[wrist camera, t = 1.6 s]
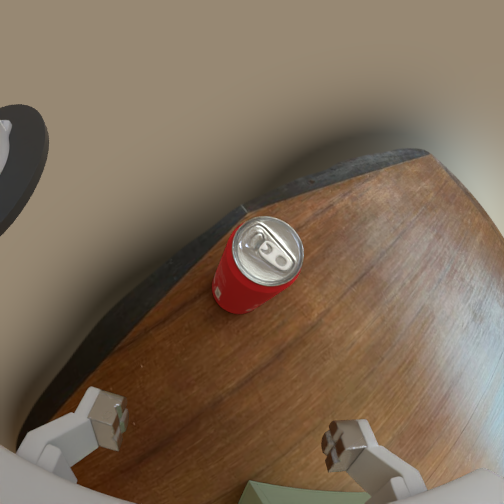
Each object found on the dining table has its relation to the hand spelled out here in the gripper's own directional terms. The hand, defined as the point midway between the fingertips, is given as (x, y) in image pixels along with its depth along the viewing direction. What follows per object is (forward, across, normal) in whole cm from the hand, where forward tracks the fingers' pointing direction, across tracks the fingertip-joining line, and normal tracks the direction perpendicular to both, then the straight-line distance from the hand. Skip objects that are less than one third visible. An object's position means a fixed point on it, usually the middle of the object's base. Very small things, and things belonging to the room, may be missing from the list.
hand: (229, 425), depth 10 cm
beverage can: (+20, -1, +3) cm, 20 cm away
